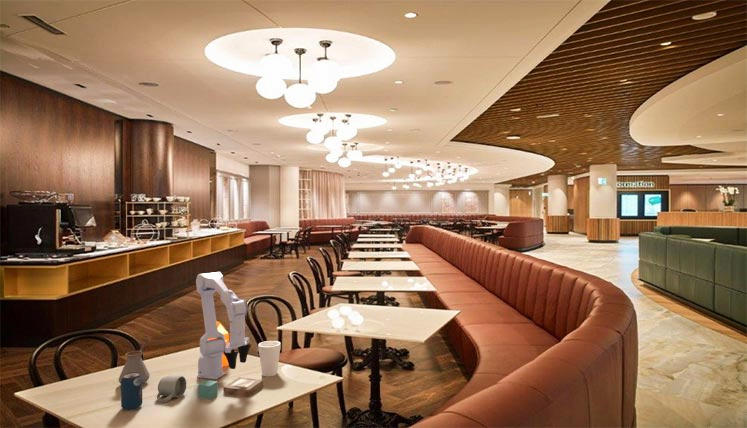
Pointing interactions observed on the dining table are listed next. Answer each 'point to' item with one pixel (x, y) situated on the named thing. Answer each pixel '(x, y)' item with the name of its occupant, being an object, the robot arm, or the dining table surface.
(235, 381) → the walnut base
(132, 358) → the coffee pot
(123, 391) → the soda can
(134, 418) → the dining table surface
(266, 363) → the foam cup
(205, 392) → the teal cube
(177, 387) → the ceramic mug
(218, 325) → the orange juice
